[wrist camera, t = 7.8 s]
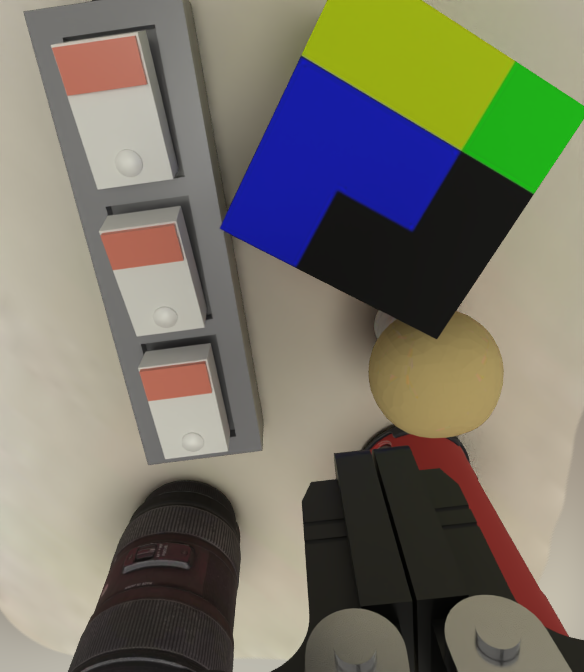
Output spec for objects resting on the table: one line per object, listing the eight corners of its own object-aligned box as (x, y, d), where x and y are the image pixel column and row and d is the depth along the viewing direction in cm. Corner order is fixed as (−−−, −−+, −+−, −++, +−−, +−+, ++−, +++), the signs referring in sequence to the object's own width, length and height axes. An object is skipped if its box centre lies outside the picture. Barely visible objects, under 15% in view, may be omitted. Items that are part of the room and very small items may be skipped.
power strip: (42, -13, 26) (11, -32, 23) (184, -34, 26) (172, -56, 23) (159, 436, 35) (148, 465, 32) (263, 423, 35) (262, 450, 32)
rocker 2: (107, 215, 26) (97, 233, 24) (180, 205, 26) (175, 223, 24) (142, 317, 29) (135, 339, 28) (207, 308, 29) (204, 330, 27)
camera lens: (109, 530, 38) (11, 765, 24) (169, 451, 36) (100, 660, 22) (204, 579, 40) (165, 823, 26) (267, 507, 37) (261, 733, 24)
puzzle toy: (237, 197, 30) (219, 228, 20) (324, 15, 26) (349, -47, 17) (389, 277, 31) (437, 339, 22) (487, 116, 28) (589, 109, 19)
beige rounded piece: (458, 266, 31) (535, 334, 22) (450, 362, 34) (517, 460, 25) (350, 272, 31) (382, 344, 22) (350, 369, 34) (380, 468, 25)
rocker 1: (64, 41, 23) (48, 45, 21) (145, 30, 23) (136, 32, 21) (107, 178, 26) (96, 191, 25) (178, 168, 26) (172, 180, 24)
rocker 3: (145, 351, 29) (136, 370, 27) (210, 342, 29) (206, 361, 27) (170, 439, 32) (164, 462, 30) (230, 432, 31) (227, 454, 30)
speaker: (408, 398, 35) (533, 652, 18) (489, 459, 36) (670, 741, 20) (332, 475, 37) (378, 769, 20) (412, 530, 39) (516, 839, 22)
